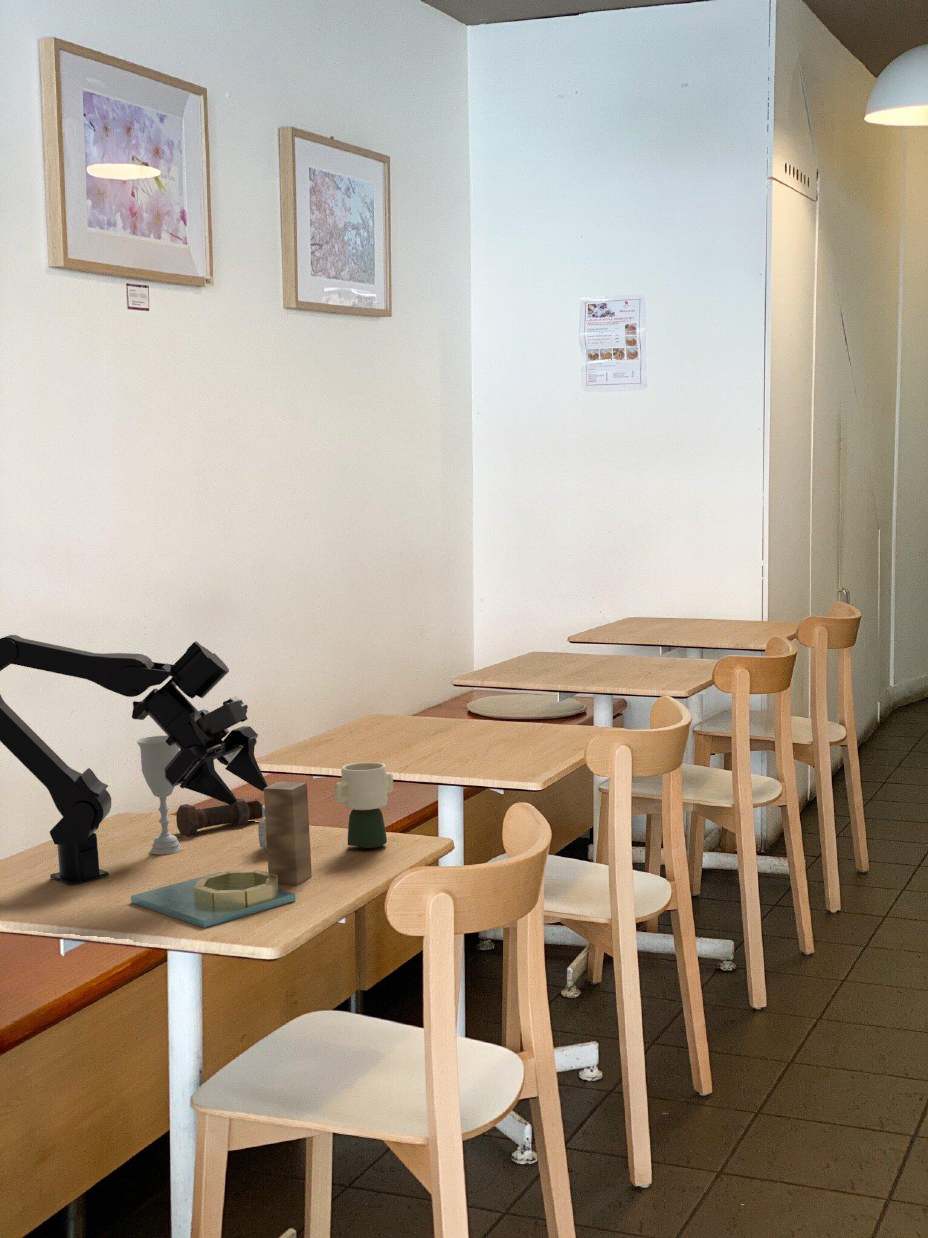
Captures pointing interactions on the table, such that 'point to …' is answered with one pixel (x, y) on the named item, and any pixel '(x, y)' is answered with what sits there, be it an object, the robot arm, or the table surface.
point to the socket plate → (196, 911)
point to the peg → (288, 832)
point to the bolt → (216, 816)
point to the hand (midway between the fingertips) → (250, 796)
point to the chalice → (159, 786)
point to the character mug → (365, 801)
